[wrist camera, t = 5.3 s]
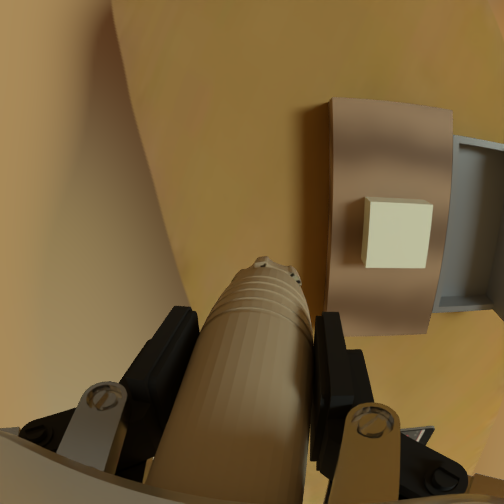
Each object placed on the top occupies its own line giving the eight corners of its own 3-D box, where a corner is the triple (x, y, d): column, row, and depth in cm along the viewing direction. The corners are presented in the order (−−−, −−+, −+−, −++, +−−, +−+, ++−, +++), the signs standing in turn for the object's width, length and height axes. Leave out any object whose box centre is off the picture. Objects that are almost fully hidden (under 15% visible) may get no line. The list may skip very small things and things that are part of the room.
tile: (364, 196, 23) (370, 201, 22) (423, 199, 23) (433, 204, 21) (360, 258, 25) (365, 267, 23) (417, 259, 24) (425, 268, 23)
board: (328, 101, 24) (332, 97, 21) (437, 112, 23) (452, 110, 20) (322, 319, 31) (324, 336, 28) (417, 317, 29) (426, 333, 27)
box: (440, 134, 23) (467, 135, 19) (508, 146, 22) (538, 151, 18) (423, 300, 29) (441, 326, 24) (486, 298, 28) (508, 321, 23)
